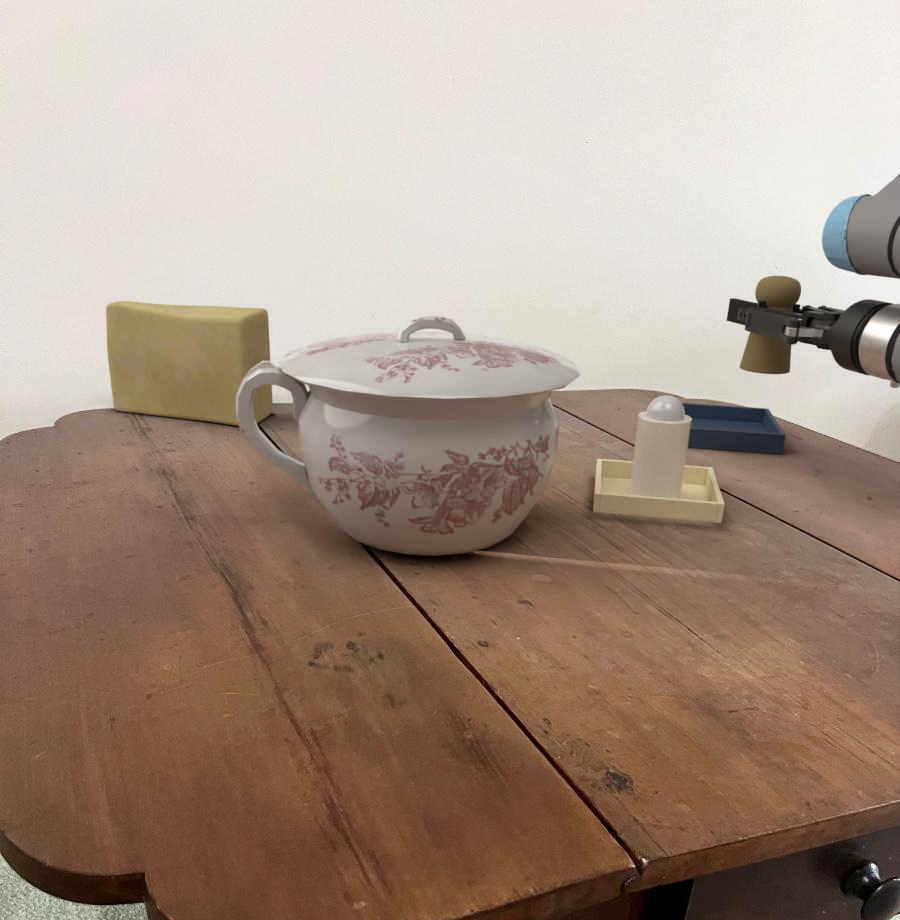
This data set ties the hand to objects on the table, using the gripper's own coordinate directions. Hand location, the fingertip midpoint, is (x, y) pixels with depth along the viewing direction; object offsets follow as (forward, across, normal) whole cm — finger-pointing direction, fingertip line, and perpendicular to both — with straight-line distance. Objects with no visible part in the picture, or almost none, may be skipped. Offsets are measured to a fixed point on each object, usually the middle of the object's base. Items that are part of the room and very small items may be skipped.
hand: (746, 309), depth 116 cm
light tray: (-18, -22, -18) cm, 33 cm away
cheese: (+32, -67, -18) cm, 76 cm away
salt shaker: (-18, -22, -17) cm, 33 cm away
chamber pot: (-20, -50, -18) cm, 56 cm away
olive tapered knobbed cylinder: (-5, 0, -7) cm, 9 cm away
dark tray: (+5, +2, -18) cm, 19 cm away
